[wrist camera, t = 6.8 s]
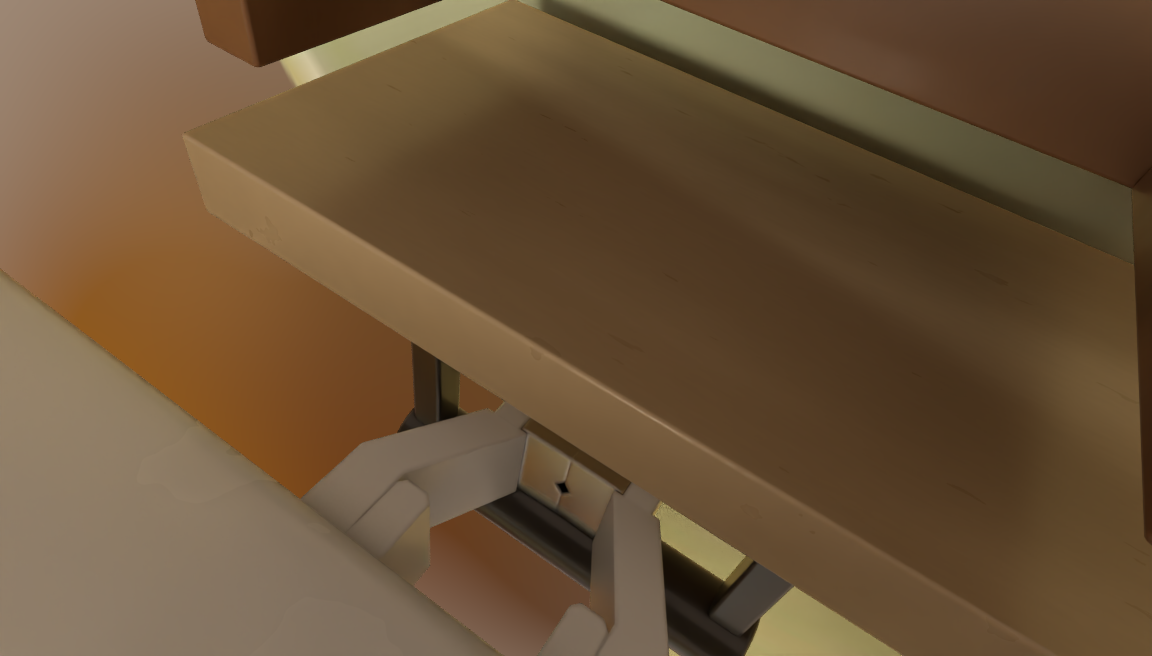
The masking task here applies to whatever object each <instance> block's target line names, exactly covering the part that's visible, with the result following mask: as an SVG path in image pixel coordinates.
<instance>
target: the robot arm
mask: <svg viewBox="0 0 1152 656" xmlns="http://www.w3.org/2000/svg"><path fill="white" fill-rule="evenodd" d="M516 489H518V490H520V491H521V492H523V493H524V494H526V495H527V496H529V497H530V498H532V499H534V500H535V501H537V502H538V503H540V504H541V505H543V506H544V507H546V508H548V509H549V510H551V511H552V512H554V513H555V514H557V515H558V516H559V517H561V518H562V519H564V520H565V521H566V522H568V523H569V524H571V525H572V526H573V527H575V528H576V529H578V530H579V531H580V532H582V533H583V534H585V535H586V536H587V537H589V538H590V539H592V540H593V542H592V561H591V585H590V609H589V608H587V607H586V606H584V605H583V604H582V603H580V604H575V605H571V606H570V607H569V608H568V610H567V611H566V613H565V614H564V616H563V617H562V619H561V620H560V622H559V623H558V625H557V626H556V628H555V629H554V631H553V632H552V634H551V635H550V637H549V638H548V640H547V641H546V643H545V645H544V646H543V647H542V649H541V650H540V652H539V653H538V655H537V656H669V647H668V633H667V618H666V604H665V590H664V575H663V561H662V547H661V532H660V520H659V519H658V518H656V517H655V514H656V512H657V511H658V509H659V507H660V506H661V504H662V501H660V500H659V499H657V498H656V497H654V496H652V495H651V494H649V493H648V492H646V491H645V490H643V489H641V488H640V487H638V486H637V485H635V484H634V483H632V482H631V481H629V480H627V479H626V478H624V477H623V476H621V475H620V474H618V473H616V472H615V471H613V470H612V469H610V468H609V467H607V466H605V465H604V464H602V463H601V462H599V461H598V460H596V459H595V458H593V457H591V456H590V455H588V454H587V453H585V452H584V451H582V450H580V449H579V448H577V447H576V446H574V445H573V444H571V443H569V442H568V441H566V440H565V439H563V438H562V437H560V436H558V435H557V434H555V433H554V432H552V431H551V430H549V429H548V428H546V427H544V426H543V425H541V424H540V423H538V422H537V421H535V420H533V419H532V418H530V417H529V416H527V415H526V414H524V413H522V412H521V411H519V410H518V409H516V408H515V407H513V406H512V405H510V404H508V403H507V402H505V401H504V402H503V404H502V405H501V406H500V407H499V408H498V409H497V410H496V411H495V412H493V411H492V410H490V409H488V408H487V409H483V410H479V411H476V412H473V413H468V414H465V415H461V416H458V417H454V418H450V419H447V420H443V421H440V422H436V423H432V424H429V425H425V426H421V427H418V428H414V429H411V430H407V431H403V432H400V433H397V434H393V435H389V436H385V437H382V438H378V439H375V440H371V441H367V442H363V443H361V444H360V445H359V446H358V447H357V448H356V449H355V450H353V451H352V452H351V453H350V454H349V455H348V456H347V457H346V458H345V459H344V460H342V461H341V462H340V463H339V464H338V465H337V466H336V467H335V468H334V469H333V470H331V471H330V472H329V473H328V474H327V475H326V476H325V477H324V478H323V479H322V480H320V481H319V482H318V483H317V484H316V485H315V486H314V487H313V488H312V489H311V490H309V491H308V492H307V493H306V494H305V495H304V496H303V497H302V498H301V499H299V498H298V497H297V496H295V495H294V494H293V493H292V492H290V491H289V490H288V489H286V488H285V487H284V486H282V485H281V484H280V483H279V482H277V481H276V480H274V479H273V478H272V477H271V476H269V475H268V474H267V473H265V472H264V471H263V470H262V469H260V468H259V467H258V466H256V465H255V464H254V463H253V462H251V461H250V460H249V459H247V458H246V457H244V456H243V455H242V454H241V453H240V452H238V451H237V450H235V449H234V448H233V447H232V446H230V445H229V444H228V443H227V442H225V441H224V440H223V439H221V438H220V437H218V436H217V435H216V434H215V433H214V432H212V431H211V430H210V429H208V428H207V427H205V426H204V425H203V424H202V423H201V422H199V421H198V420H197V419H195V418H194V417H193V416H191V415H190V414H189V413H187V412H186V411H185V410H184V409H182V408H181V407H180V406H178V405H177V404H176V403H174V402H173V401H172V400H171V399H169V398H168V397H166V396H165V395H164V394H163V393H161V392H160V391H159V390H158V389H156V388H155V387H154V386H152V385H151V384H150V383H148V382H147V381H146V380H145V379H143V378H142V377H141V376H139V375H138V374H137V373H135V372H134V371H133V370H132V369H130V368H129V367H128V366H126V365H125V364H124V363H122V362H121V361H120V360H118V359H117V358H116V357H115V356H113V355H112V354H111V353H109V352H108V351H107V350H106V349H104V348H103V347H102V346H100V345H99V344H98V343H96V342H95V341H94V340H93V339H91V338H90V337H89V336H87V335H86V334H85V333H83V332H82V331H81V330H79V329H78V328H77V327H76V326H74V325H73V324H72V323H70V322H69V321H68V320H66V319H65V318H64V317H63V316H61V315H60V314H59V313H57V312H56V311H55V310H53V309H52V308H51V307H50V306H48V305H47V304H46V303H44V302H43V301H42V300H40V299H39V298H38V297H36V296H35V295H34V294H33V293H31V292H30V291H29V290H27V289H26V288H25V287H23V286H22V285H21V284H19V283H18V282H17V281H15V280H14V279H13V278H12V277H10V276H9V275H8V274H7V273H5V272H4V271H3V270H2V269H0V656H504V655H502V654H501V653H499V652H498V651H497V650H496V649H494V648H493V647H492V646H490V645H489V644H488V643H487V642H485V641H484V640H483V639H481V638H480V637H479V636H477V635H476V634H475V633H474V632H472V631H471V630H470V629H468V628H467V627H466V626H464V625H463V624H462V623H460V622H459V621H458V620H457V619H455V618H454V617H453V616H451V615H450V614H449V613H448V612H446V611H445V610H444V609H442V608H441V607H440V606H438V605H437V604H436V603H435V602H433V601H432V600H431V599H429V598H428V597H427V596H425V595H424V594H423V593H422V592H420V591H419V590H418V589H416V588H415V587H414V585H415V583H416V582H417V581H418V580H419V578H420V577H421V576H422V575H423V573H424V572H425V571H426V570H427V569H428V567H429V566H430V528H431V527H433V526H435V525H438V524H440V523H442V522H445V521H447V520H449V519H452V518H454V517H457V516H459V515H461V514H464V513H466V512H468V511H471V510H473V509H476V508H478V507H480V506H483V505H485V504H487V503H490V502H492V501H495V500H497V499H499V498H502V497H504V496H506V495H509V494H511V493H514V492H516Z"/></svg>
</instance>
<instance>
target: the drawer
mask: <svg viewBox="0 0 1152 656" xmlns="http://www.w3.org/2000/svg"><path fill="white" fill-rule="evenodd" d="M195 1H196V5H197V9H198V12H199V16H200V19H201V23H202V27H203V31H204V35H205V38H206V39H207V41H208V42H209V43H211V44H213V45H215V46H217V47H219V48H221V49H223V50H224V51H226V52H228V53H230V54H232V55H234V56H236V57H237V58H239V59H241V60H243V61H245V62H247V63H249V64H251V65H252V66H254V67H262V66H265V65H267V64H270V63H273V62H276V61H278V60H281V59H284V58H286V57H289V56H292V55H295V54H297V53H300V52H303V51H306V50H308V49H311V48H314V47H316V46H319V45H322V44H325V43H327V42H330V41H333V40H335V39H338V38H341V37H344V36H346V35H349V34H352V33H355V32H357V31H360V30H363V29H365V28H368V27H371V26H374V25H376V24H379V23H382V22H384V21H387V20H390V19H393V18H395V17H398V16H401V15H404V14H406V13H409V12H412V11H414V10H417V9H420V8H423V7H425V6H428V5H431V4H433V3H436V2H439V1H442V0H195ZM660 1H663V2H665V3H668V4H670V5H673V6H675V7H678V8H680V9H683V10H685V11H688V12H690V13H693V14H696V15H698V16H701V17H703V18H706V19H708V20H711V21H713V22H716V23H718V24H721V25H723V26H726V27H728V28H731V29H733V30H736V31H738V32H741V33H743V34H746V35H748V36H751V37H753V38H756V39H758V40H761V41H763V42H766V43H768V44H771V45H773V46H776V47H778V48H781V49H783V50H786V51H788V52H791V53H793V54H796V55H798V56H801V57H803V58H806V59H808V60H811V61H813V62H816V63H818V64H821V65H823V66H826V67H828V68H831V69H833V70H836V71H838V72H841V73H843V74H846V75H848V76H851V77H853V78H856V79H858V80H861V81H863V82H866V83H868V84H871V85H874V86H876V87H879V88H881V89H884V90H886V91H889V92H891V93H894V94H896V95H899V96H901V97H904V98H906V99H909V100H911V101H914V102H916V103H919V104H921V105H924V106H926V107H929V108H931V109H934V110H936V111H939V112H941V113H944V114H946V115H949V116H951V117H954V118H956V119H959V120H961V121H964V122H966V123H969V124H971V125H974V126H976V127H979V128H981V129H984V130H986V131H989V132H991V133H994V134H996V135H999V136H1001V137H1004V138H1006V139H1009V140H1011V141H1014V142H1016V143H1019V144H1021V145H1024V146H1026V147H1029V148H1031V149H1034V150H1036V151H1039V152H1041V153H1044V154H1047V155H1049V156H1052V157H1054V158H1057V159H1059V160H1062V161H1064V162H1067V163H1069V164H1072V165H1074V166H1077V167H1079V168H1082V169H1084V170H1087V171H1089V172H1092V173H1094V174H1097V175H1099V176H1102V177H1104V178H1107V179H1109V180H1112V181H1114V182H1117V183H1119V184H1122V185H1124V186H1127V187H1129V188H1132V218H1133V245H1134V265H1133V264H1131V263H1128V262H1126V261H1124V260H1121V259H1119V258H1117V257H1114V256H1112V255H1110V254H1107V253H1105V252H1103V251H1100V250H1098V249H1096V248H1093V247H1091V246H1089V245H1086V244H1084V243H1082V242H1079V241H1077V240H1075V239H1072V238H1070V237H1068V236H1065V235H1063V234H1061V233H1058V232H1056V231H1054V230H1051V229H1049V228H1047V227H1044V226H1042V225H1040V224H1037V223H1035V222H1033V221H1030V220H1028V219H1026V218H1023V217H1021V216H1019V215H1016V214H1014V213H1012V212H1009V211H1007V210H1005V209H1002V208H1000V207H998V206H995V205H993V204H991V203H988V202H986V201H984V200H981V199H979V198H977V197H974V196H972V195H970V194H967V193H965V192H963V191H960V190H958V189H956V188H953V187H951V186H949V185H946V184H944V183H942V182H939V181H937V180H935V179H932V178H930V177H928V176H925V175H923V174H921V173H918V172H916V171H914V170H911V169H909V168H907V167H904V166H902V165H900V164H897V163H895V162H893V161H890V160H888V159H886V158H883V157H881V156H879V155H876V154H874V153H872V152H869V151H867V150H865V149H862V148H860V147H858V146H855V145H853V144H851V143H848V142H846V141H844V140H841V139H839V138H837V137H834V136H832V135H830V134H827V133H825V132H823V131H820V130H818V129H816V128H813V127H811V126H809V125H806V124H804V123H802V122H799V121H797V120H795V119H792V118H790V117H788V116H785V115H783V114H781V113H778V112H776V111H774V110H771V109H769V108H767V107H764V106H762V105H760V104H757V103H755V102H753V101H750V100H748V99H746V98H743V97H741V96H739V95H736V94H734V93H732V92H729V91H727V90H725V89H722V88H720V87H718V86H715V85H713V84H711V83H708V82H706V81H704V80H701V79H699V78H696V77H694V76H692V75H689V74H687V73H685V72H682V71H680V70H678V69H675V68H673V67H671V66H668V65H666V64H664V63H661V62H659V61H657V60H654V59H652V58H650V57H647V56H645V55H643V54H640V53H638V52H636V51H633V50H631V49H629V48H626V47H624V46H622V45H619V44H617V43H615V42H612V41H610V40H608V39H605V38H603V37H601V36H598V35H596V34H594V33H591V32H589V31H587V30H584V29H582V28H580V27H577V26H575V25H573V24H570V23H568V22H566V21H563V20H561V19H559V18H556V17H554V16H552V15H549V14H547V13H545V12H542V11H540V10H538V9H535V8H533V7H531V6H528V5H526V4H524V3H521V2H519V1H517V0H508V1H506V2H503V3H501V4H499V5H496V6H494V7H491V8H489V9H486V10H484V11H481V12H479V13H476V14H474V15H472V16H469V17H467V18H464V19H462V20H459V21H457V22H454V23H452V24H449V25H447V26H445V27H442V28H440V29H437V30H435V31H432V32H430V33H427V34H425V35H422V36H420V37H418V38H415V39H413V40H410V41H408V42H405V43H403V44H400V45H398V46H396V47H393V48H391V49H388V50H386V51H383V52H381V53H378V54H376V55H373V56H371V57H369V58H366V59H364V60H361V61H359V62H356V63H354V64H351V65H349V66H346V67H344V68H342V69H339V70H337V71H334V72H332V73H329V74H327V75H324V76H322V77H320V78H317V79H315V80H312V81H310V82H307V83H305V84H302V85H300V86H297V87H295V88H293V89H290V90H288V91H285V92H283V93H280V94H278V95H275V96H273V97H270V98H268V99H266V100H263V101H261V102H258V103H256V104H253V105H251V106H248V107H246V108H244V109H241V110H239V111H236V112H234V113H231V114H229V115H226V116H224V117H222V118H219V119H217V120H214V121H212V122H210V123H207V124H204V125H202V126H199V127H197V128H194V129H192V130H190V131H187V132H185V133H184V134H183V140H184V143H185V146H186V149H187V152H188V155H189V158H190V161H191V164H192V167H193V170H194V173H195V176H196V179H197V182H198V185H199V188H200V191H201V195H202V197H203V201H204V203H205V207H206V209H207V211H208V212H209V213H211V214H212V215H214V216H216V217H217V218H219V219H220V220H222V221H224V222H225V223H227V224H228V225H230V226H231V227H233V228H234V229H236V230H238V231H239V232H241V233H242V234H244V235H245V236H247V237H248V238H250V239H252V240H253V241H255V242H256V243H258V244H259V245H261V246H263V247H264V248H266V249H267V250H269V251H271V252H272V253H274V254H275V255H277V256H278V257H280V258H281V259H283V260H285V261H286V262H288V263H289V264H291V265H292V266H294V267H295V268H297V269H299V270H300V271H302V272H303V273H305V274H306V275H308V276H310V277H311V278H313V279H315V280H316V281H317V282H319V283H321V284H322V285H324V286H325V287H327V288H328V289H330V290H331V291H333V292H335V293H336V294H338V295H339V296H341V297H342V298H344V299H346V300H347V301H349V302H350V303H352V304H354V305H355V306H357V307H358V308H360V309H361V310H363V311H364V312H366V313H368V314H369V315H371V316H372V317H374V318H375V319H377V320H378V321H380V322H382V323H383V324H385V325H386V326H388V327H390V328H391V329H393V330H394V331H396V332H397V333H399V334H400V335H402V336H404V337H405V338H407V339H408V340H410V341H411V346H412V365H413V385H414V406H415V407H414V408H413V409H412V411H411V412H410V413H409V414H408V416H407V417H406V418H405V420H404V421H403V423H402V424H401V426H400V428H399V430H398V432H397V433H400V432H403V431H407V430H411V429H414V428H418V427H421V426H425V425H429V424H432V423H436V422H440V421H443V420H447V419H450V418H454V417H458V416H461V415H465V414H468V413H467V412H466V411H464V410H463V409H461V408H460V407H459V391H460V373H462V374H463V375H465V376H466V377H468V378H469V379H471V380H472V381H474V382H476V383H477V384H479V385H480V386H482V387H483V388H485V389H486V390H488V391H490V392H491V393H493V394H494V395H496V396H497V397H499V398H501V399H502V400H504V401H505V402H507V403H508V404H510V405H512V406H513V407H515V408H516V409H518V410H519V411H521V412H522V413H524V414H526V415H527V416H529V417H530V418H532V419H533V420H535V421H537V422H538V423H540V424H541V425H543V426H544V427H546V428H548V429H549V430H551V431H552V432H554V433H555V434H557V435H558V436H560V437H562V438H563V439H565V440H566V441H568V442H569V443H571V444H573V445H574V446H576V447H577V448H579V449H580V450H582V451H584V452H585V453H587V454H588V455H590V456H591V457H593V458H595V459H596V460H598V461H599V462H601V463H602V464H604V465H605V466H607V467H609V468H610V469H612V470H613V471H615V472H616V473H618V474H620V475H621V476H623V477H624V478H626V479H627V480H629V481H631V482H632V483H634V484H635V485H637V486H638V487H640V488H641V489H643V490H645V491H646V492H648V493H649V494H651V495H652V496H654V497H656V498H657V499H659V500H660V501H662V502H663V503H665V504H667V505H668V506H670V507H671V508H673V509H674V510H676V511H677V512H679V513H681V514H682V515H684V516H685V517H687V518H688V519H690V520H692V521H693V522H695V523H696V524H698V525H699V526H701V527H703V528H704V529H706V530H707V531H709V532H710V533H712V534H714V535H715V536H717V537H718V538H720V539H721V540H723V541H724V542H726V543H728V544H729V545H731V546H732V547H734V548H735V549H737V550H739V551H740V552H742V553H743V554H745V555H746V557H745V558H744V559H743V560H742V561H741V563H740V564H739V565H738V566H737V567H736V569H735V570H734V571H733V572H732V573H731V574H730V576H729V577H728V578H727V579H726V580H725V582H724V581H723V580H721V579H720V578H718V577H717V576H715V575H714V574H712V573H711V572H709V571H708V570H706V569H704V568H703V567H701V566H700V565H698V564H697V563H695V562H694V561H692V560H691V559H689V558H688V557H686V556H685V555H683V554H682V553H680V552H679V551H677V550H676V549H674V548H673V547H671V546H670V545H668V544H666V543H665V542H663V541H662V540H661V547H662V561H663V575H664V590H665V604H666V618H667V633H668V647H669V648H670V649H671V650H673V651H674V652H676V653H677V654H679V655H680V656H745V654H746V652H747V650H748V648H749V646H750V644H751V642H752V640H753V638H754V635H755V633H756V631H757V628H758V625H759V622H760V618H761V617H762V616H763V615H764V614H765V613H766V612H767V611H768V610H769V609H770V608H771V607H772V606H773V605H774V604H775V603H777V602H778V601H779V600H780V599H781V598H782V597H783V596H784V595H785V594H786V593H787V592H788V591H789V590H790V589H791V588H793V587H794V586H795V587H796V588H798V589H800V590H801V591H803V592H804V593H806V594H807V595H809V596H811V597H812V598H814V599H815V600H817V601H818V602H820V603H822V604H823V605H825V606H826V607H828V608H829V609H831V610H832V611H834V612H836V613H837V614H839V615H840V616H842V617H843V618H845V619H847V620H848V621H850V622H851V623H853V624H854V625H856V626H858V627H859V628H861V629H862V630H864V631H865V632H867V633H869V634H870V635H872V636H873V637H875V638H876V639H878V640H879V641H881V642H883V643H884V644H886V645H887V646H889V647H890V648H892V649H894V650H895V651H897V652H898V653H900V654H901V655H903V656H1152V0H660ZM473 510H475V511H476V512H477V513H479V514H480V515H482V516H483V517H485V518H486V519H487V520H489V521H490V522H492V523H493V524H495V525H496V526H497V527H499V528H500V529H502V530H503V531H504V532H506V533H507V534H509V535H510V536H511V537H513V538H514V539H516V540H517V541H519V542H520V543H521V544H523V545H524V546H526V547H527V548H529V549H530V550H531V551H533V552H534V553H536V554H537V555H538V556H540V557H541V558H543V559H544V560H545V561H547V562H548V563H550V564H551V565H553V566H554V567H555V568H557V569H558V570H560V571H561V572H562V573H564V574H565V575H567V576H568V577H570V578H571V579H572V580H574V581H575V582H577V583H578V584H579V585H581V586H582V587H584V588H585V589H587V590H588V591H590V585H591V561H592V542H593V540H592V539H590V538H589V537H587V536H586V535H585V534H583V533H582V532H580V531H579V530H578V529H576V528H575V527H573V526H572V525H571V524H569V523H568V522H566V521H565V520H564V519H562V518H561V517H559V516H558V515H557V514H555V513H554V512H552V511H551V510H549V509H548V508H546V507H544V506H543V505H541V504H540V503H538V502H537V501H535V500H534V499H532V498H530V497H529V496H527V495H526V494H524V493H523V492H521V491H520V490H518V489H516V492H514V493H511V494H509V495H506V496H504V497H502V498H499V499H497V500H495V501H492V502H490V503H487V504H485V505H483V506H480V507H478V508H476V509H473Z"/></svg>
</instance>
